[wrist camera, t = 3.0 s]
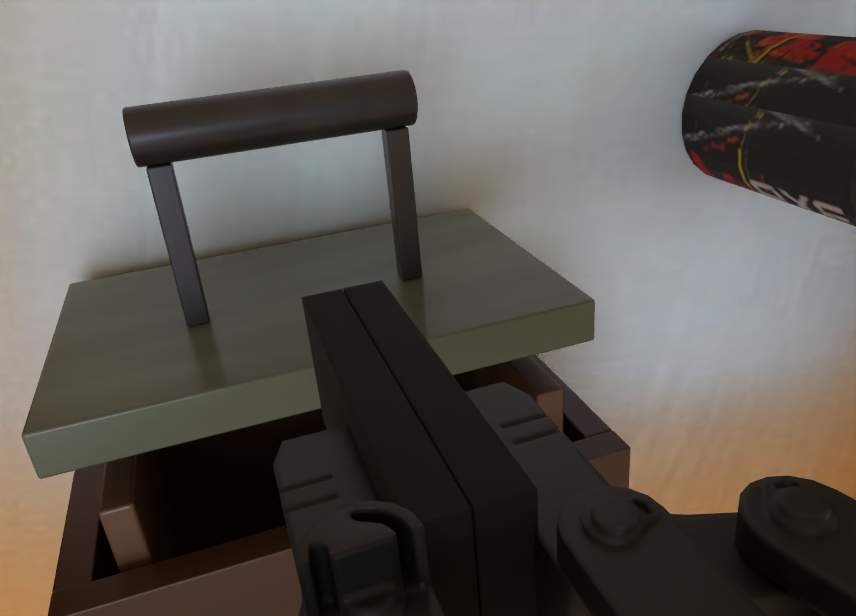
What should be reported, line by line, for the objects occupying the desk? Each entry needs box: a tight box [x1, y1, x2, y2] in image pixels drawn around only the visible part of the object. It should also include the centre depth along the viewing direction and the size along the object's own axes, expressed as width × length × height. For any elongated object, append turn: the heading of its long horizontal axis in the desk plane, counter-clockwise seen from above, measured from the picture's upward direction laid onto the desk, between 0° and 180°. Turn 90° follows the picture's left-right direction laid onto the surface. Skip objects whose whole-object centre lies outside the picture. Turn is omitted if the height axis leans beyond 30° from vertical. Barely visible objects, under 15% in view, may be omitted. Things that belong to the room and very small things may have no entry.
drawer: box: [22, 70, 595, 573], centre depth 23 cm, size 23×14×9 cm, turn 5°
